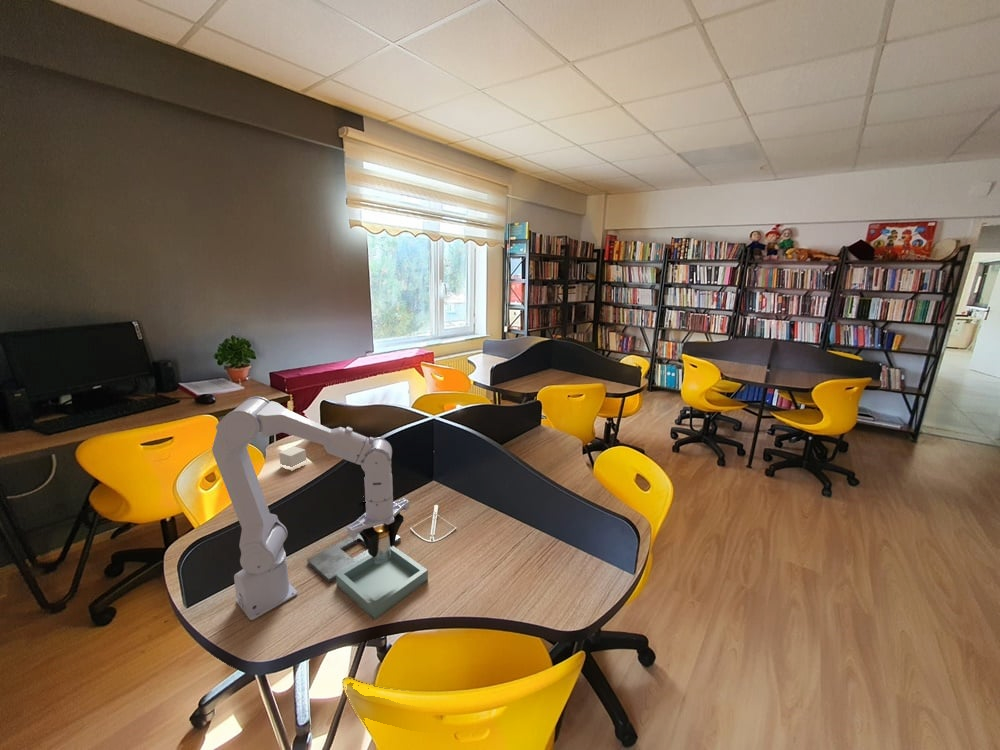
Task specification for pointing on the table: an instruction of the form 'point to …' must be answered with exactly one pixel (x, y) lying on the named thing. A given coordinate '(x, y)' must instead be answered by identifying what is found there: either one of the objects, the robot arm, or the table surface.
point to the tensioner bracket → (338, 558)
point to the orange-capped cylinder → (382, 545)
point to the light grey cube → (292, 456)
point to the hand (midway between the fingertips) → (381, 549)
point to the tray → (381, 582)
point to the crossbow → (433, 527)
